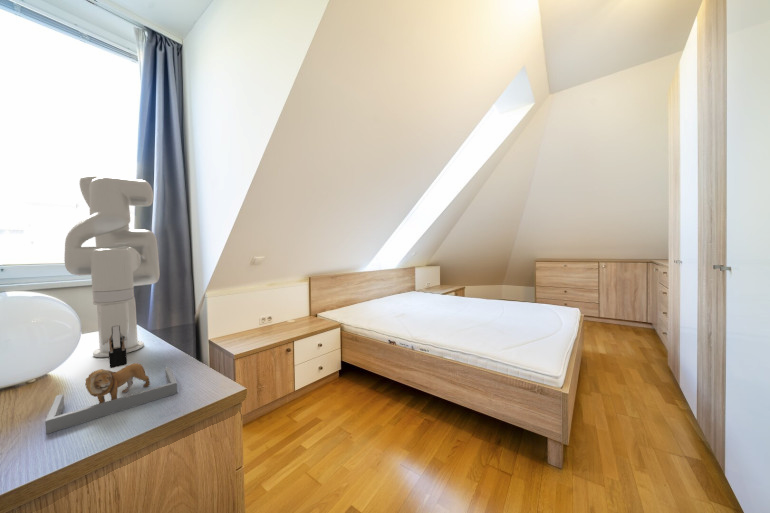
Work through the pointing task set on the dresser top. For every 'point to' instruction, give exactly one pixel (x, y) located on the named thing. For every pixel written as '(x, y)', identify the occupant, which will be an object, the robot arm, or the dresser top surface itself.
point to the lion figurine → (114, 381)
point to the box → (106, 405)
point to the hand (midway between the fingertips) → (118, 365)
